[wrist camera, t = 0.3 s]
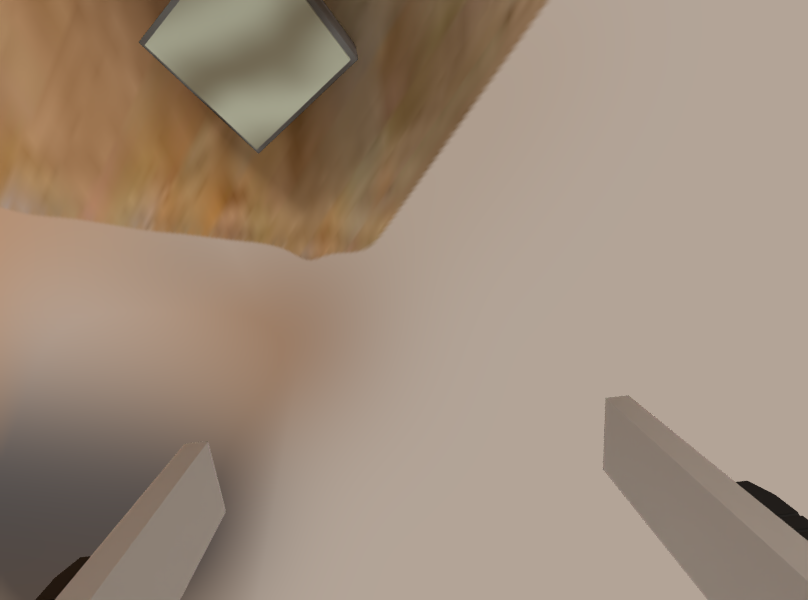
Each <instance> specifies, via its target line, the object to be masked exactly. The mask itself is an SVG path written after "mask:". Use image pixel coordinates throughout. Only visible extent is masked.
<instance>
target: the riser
mask: <svg viewBox="0 0 808 600" xmlns="http://www.w3.org/2000/svg"><path fill="white" fill-rule="evenodd" d="M139 43H140V44H141V45H142V46H143V47H144V48H145V49H146V50H147V51H148V52H149V53H151V54H152V55H153V56H154V57H155V58H156V59H157V60H158V61H159V62H160V63H161V64H162V65H163V66H165V67H166V68H167V69H168V70H169V71H170V72H171V73H172V74H173V75H174V76H175V77H176V78H177V79H179V80H180V81H181V82H182V83H183V84H184V85H185V86H186V87H187V88H188V89H189V90H190V91H192V92H193V93H194V94H195V95H196V96H197V97H198V98H199V99H200V100H201V101H202V102H203V103H204V104H206V105H207V106H208V107H209V108H210V109H211V110H212V111H213V112H214V113H215V114H216V115H217V116H218V117H220V118H221V119H222V120H223V121H224V122H225V123H226V124H227V125H228V126H229V127H230V128H231V129H232V130H234V131H235V132H236V133H237V134H238V135H239V136H240V137H241V138H242V139H243V140H244V141H245V142H246V143H248V144H249V145H250V146H251V147H252V148H253V149H254V150H255V151H256V152H257V153H258V154H259V153H260V152H261V151H262V150H263V149H264V148H265V147H266V146H267V145H268V144H269V143H270V142H271V141H272V140H273V139H275V138H276V137H277V136H278V135H279V134H280V133H281V132H282V131H283V130H284V129H285V128H286V127H287V126H288V125H289V124H290V123H291V122H292V121H293V120H295V119H296V118H297V117H298V116H299V115H300V114H301V113H302V112H303V111H304V110H305V109H306V108H307V107H308V106H309V105H310V104H311V103H312V102H314V101H315V100H316V99H317V98H318V97H319V96H320V95H321V94H322V93H323V92H324V91H325V90H326V89H327V88H328V87H329V86H330V85H331V84H332V83H334V82H335V81H336V80H337V79H338V78H339V77H340V76H341V75H342V74H343V73H344V72H345V71H346V70H347V69H348V68H349V67H350V66H351V65H353V64H354V63H355V62H356V61H357V60H358V57H357V51H356V46H355V44H354V43H353V42H352V40H351V39H350V37H349V36H348V35H347V33H346V32H345V31H344V29H343V28H342V26H341V25H340V24H339V22H338V21H337V20H336V18H335V17H334V15H333V14H332V13H331V11H330V10H329V9H328V7H327V6H326V4H325V3H324V2H323V0H171V1H170V2H169V4H168V5H167V6H166V8H165V9H164V10H163V11H162V13H161V14H160V15H159V17H158V18H157V19H156V20H155V22H154V23H153V24H152V26H151V27H150V28H149V30H148V31H147V32H146V33H145V35H144V36H143V37H142V39H141V40H140V41H139Z"/></svg>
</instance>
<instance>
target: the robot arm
mask: <svg viewBox="0 0 808 600" xmlns="http://www.w3.org/2000/svg"><path fill="white" fill-rule="evenodd" d="M603 470H604V471H605V472H606V473H607V475H608V476H609V477H610V479H611V480H612V481H613V482H614V484H615V485H616V486H617V487H618V489H619V490H620V491H621V492H622V494H623V495H624V496H625V497H626V498H627V500H628V501H629V502H630V503H631V505H632V506H633V507H634V508H635V510H636V511H637V512H638V513H639V515H640V516H641V517H642V518H643V520H644V521H645V522H646V523H647V525H648V526H649V527H650V528H651V530H652V531H653V532H654V533H655V535H656V536H657V537H658V538H659V540H660V541H661V542H662V543H663V545H664V546H665V547H666V548H667V550H668V551H669V552H670V553H671V555H672V556H673V557H674V558H675V560H676V561H677V562H678V563H679V565H680V566H681V567H682V568H683V570H684V571H685V572H686V573H687V574H688V576H689V577H690V578H691V580H692V581H693V582H694V583H695V584H696V586H697V587H698V588H699V590H700V591H701V592H702V593H703V595H705V597H706V598H707V599H708V600H808V520H807V519H806V518H805V517H804V516H800V515H799V514H798V512H797V511H796V510H794V509H793V508H792V507H790V506H789V505H788V504H786V503H785V502H784V501H782V500H781V499H780V498H779V497H777V496H776V495H774V494H772V493H771V492H768V491H767V490H764V489H763V488H761V487H758V486H757V485H755V484H753V483H751V482H749V481H742V482H735V481H733V480H732V479H731V478H730V477H728V476H727V475H726V474H725V473H723V472H722V471H721V470H720V469H718V468H717V467H716V466H715V465H714V464H712V463H711V462H710V461H708V460H707V459H706V458H705V457H703V456H702V455H701V454H700V453H699V452H697V451H696V450H695V449H694V448H693V447H691V446H690V445H689V444H688V443H686V442H685V441H684V440H683V439H681V438H680V437H679V436H678V435H676V434H675V433H674V432H673V431H672V430H670V429H669V428H668V427H667V426H665V425H664V424H663V423H662V422H660V421H659V420H658V419H657V418H655V417H654V416H653V415H652V414H651V413H649V412H648V411H647V410H646V409H644V408H643V407H642V406H641V405H639V404H638V403H637V402H636V401H635V400H633V399H632V398H631V397H630V396H619V397H610V398H606V403H605V429H604V457H603ZM225 512H226V510H225V506H224V502H223V498H222V494H221V490H220V487H219V482H218V479H217V474H216V470H215V467H214V463H213V459H212V455H211V451H210V447H209V443H208V441H206V442H197V443H187V444H184V445H183V446H182V447H181V449H180V450H179V451H178V452H177V453H176V455H175V456H174V457H173V458H172V459H171V461H170V462H169V463H168V464H167V466H166V467H165V468H164V469H163V470H162V472H161V473H160V474H159V475H158V476H157V477H156V479H155V480H154V481H153V482H152V484H151V485H150V486H149V487H148V488H147V489H146V491H145V492H144V493H143V494H142V496H141V497H140V498H139V499H138V500H137V501H136V503H135V504H134V505H133V506H132V508H131V509H130V510H129V511H128V512H127V514H126V515H125V516H124V517H123V518H122V520H121V521H120V522H119V523H118V524H117V526H116V527H115V528H114V529H113V530H112V532H111V533H110V534H109V535H108V536H107V538H106V539H105V540H104V541H103V542H102V544H101V545H100V546H99V547H98V548H97V550H96V551H95V552H94V553H93V554H92V556H89V557H80V558H79V559H78V560H77V561H76V562H74V563H73V564H72V565H71V566H69V567H68V568H67V569H65V570H64V571H63V572H62V573H60V574H59V575H58V576H57V577H55V578H54V579H53V580H52V582H51V583H50V584H49V585H48V586H47V587H46V589H45V590H44V591H43V592H42V593H41V594H40V595H39V596H38V598H37V599H36V600H180V599H181V597H182V595H183V593H184V591H185V589H186V587H187V585H188V583H189V581H190V579H191V578H192V576H193V574H194V572H195V570H196V568H197V566H198V564H199V562H200V560H201V558H202V556H203V554H204V553H205V551H206V549H207V547H208V545H209V543H210V541H211V539H212V537H213V535H214V533H215V531H216V529H217V528H218V526H219V523H220V522H221V520H222V518H223V516H224V514H225Z"/></svg>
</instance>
